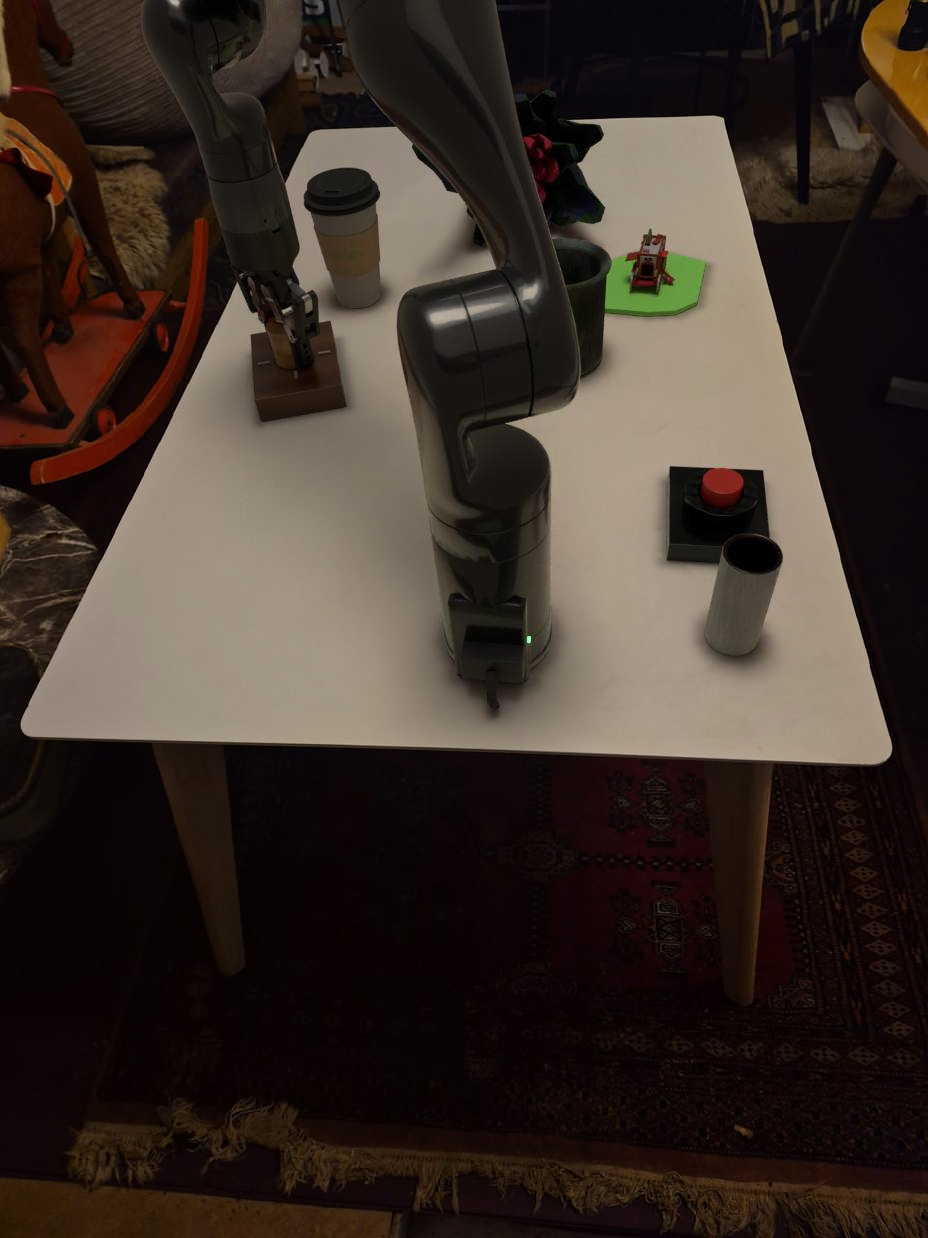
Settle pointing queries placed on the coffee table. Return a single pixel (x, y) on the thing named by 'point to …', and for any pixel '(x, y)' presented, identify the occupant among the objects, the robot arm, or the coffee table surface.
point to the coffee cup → (347, 232)
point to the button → (721, 487)
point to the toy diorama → (653, 281)
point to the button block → (710, 515)
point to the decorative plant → (551, 162)
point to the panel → (297, 379)
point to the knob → (280, 343)
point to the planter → (742, 593)
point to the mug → (585, 293)
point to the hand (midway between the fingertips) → (293, 356)
